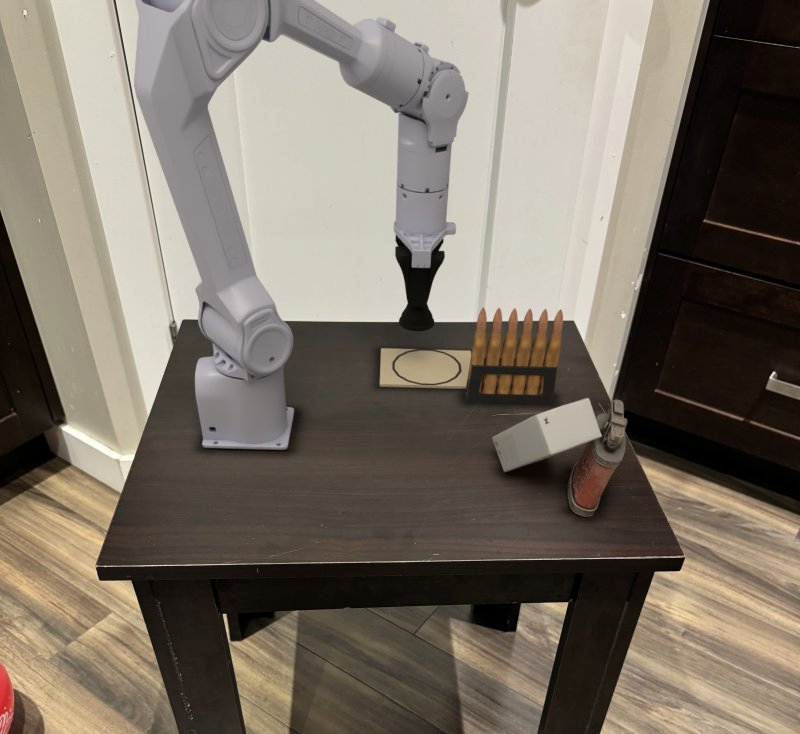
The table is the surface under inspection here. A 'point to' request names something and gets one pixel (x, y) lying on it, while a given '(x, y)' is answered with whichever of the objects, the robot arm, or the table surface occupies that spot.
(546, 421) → the cosmetic box
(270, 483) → the table surface
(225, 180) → the robot arm
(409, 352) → the drawing pad
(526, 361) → the ammunition clip
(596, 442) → the lighter
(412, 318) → the chess piece
